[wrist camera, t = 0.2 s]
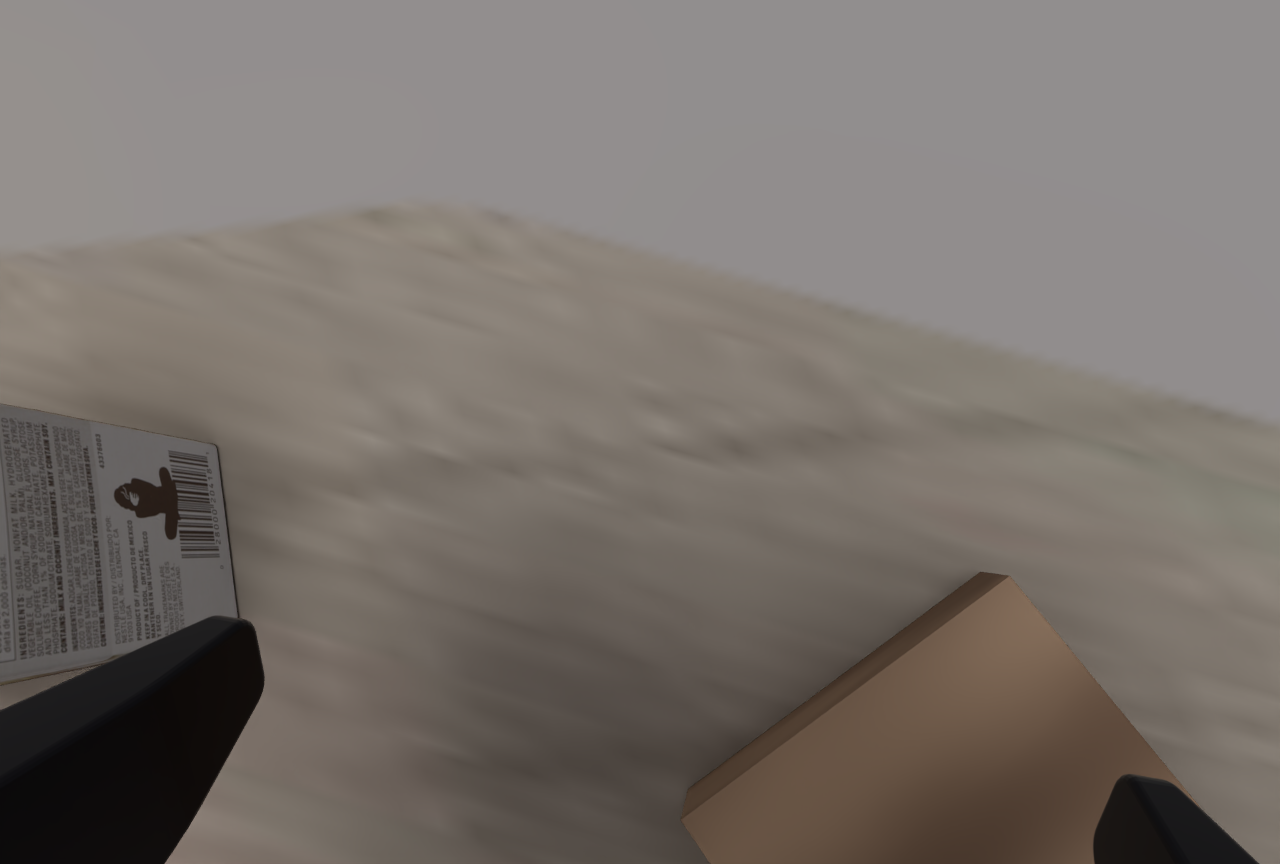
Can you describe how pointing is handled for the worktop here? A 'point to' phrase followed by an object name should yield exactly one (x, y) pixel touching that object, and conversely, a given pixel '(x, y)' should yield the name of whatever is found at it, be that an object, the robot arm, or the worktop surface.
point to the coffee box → (103, 541)
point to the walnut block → (933, 752)
